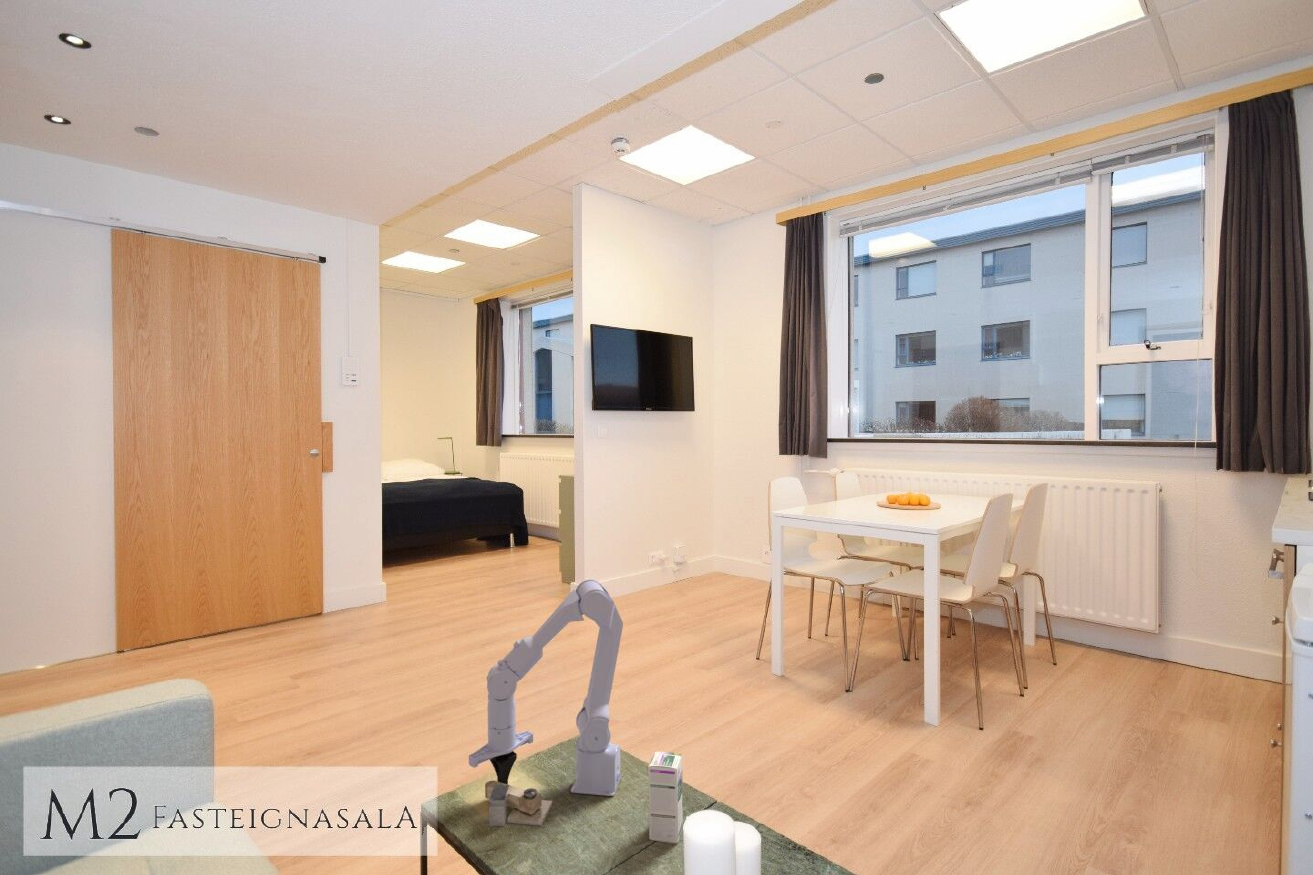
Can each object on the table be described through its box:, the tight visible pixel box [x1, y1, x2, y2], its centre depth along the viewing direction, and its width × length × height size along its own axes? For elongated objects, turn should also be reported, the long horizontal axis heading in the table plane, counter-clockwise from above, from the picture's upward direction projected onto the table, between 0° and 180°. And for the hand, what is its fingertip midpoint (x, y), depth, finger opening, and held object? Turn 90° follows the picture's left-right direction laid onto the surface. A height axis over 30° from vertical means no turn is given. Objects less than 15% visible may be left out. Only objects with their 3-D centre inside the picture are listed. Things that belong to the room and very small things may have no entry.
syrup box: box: [647, 751, 684, 844], centre depth 125 cm, size 6×6×14 cm
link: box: [484, 780, 543, 814], centre depth 133 cm, size 13×3×2 cm, turn 64°
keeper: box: [488, 784, 510, 827], centre depth 130 cm, size 3×5×5 cm, turn 3°
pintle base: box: [506, 787, 553, 827], centre depth 131 cm, size 7×7×4 cm
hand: (502, 786), depth 137 cm, fingers closed
